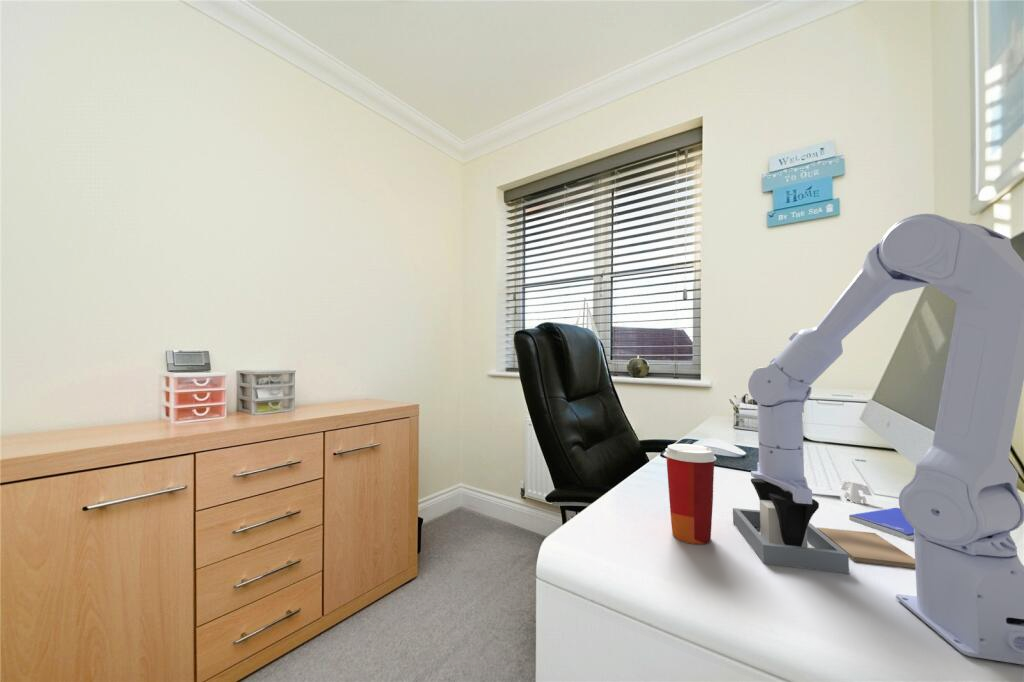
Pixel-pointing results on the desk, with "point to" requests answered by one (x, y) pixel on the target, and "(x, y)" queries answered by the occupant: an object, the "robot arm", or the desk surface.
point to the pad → (868, 548)
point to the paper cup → (690, 491)
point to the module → (772, 524)
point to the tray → (815, 558)
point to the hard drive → (886, 522)
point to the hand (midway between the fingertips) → (783, 535)
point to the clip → (855, 491)
